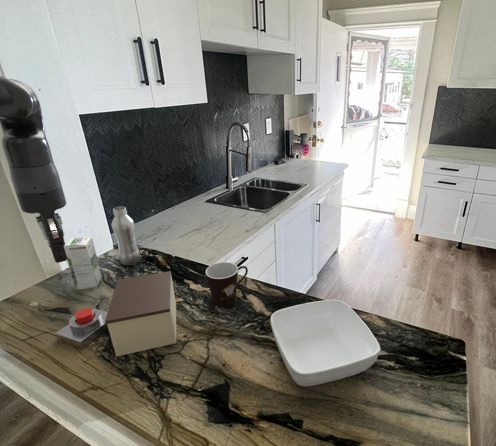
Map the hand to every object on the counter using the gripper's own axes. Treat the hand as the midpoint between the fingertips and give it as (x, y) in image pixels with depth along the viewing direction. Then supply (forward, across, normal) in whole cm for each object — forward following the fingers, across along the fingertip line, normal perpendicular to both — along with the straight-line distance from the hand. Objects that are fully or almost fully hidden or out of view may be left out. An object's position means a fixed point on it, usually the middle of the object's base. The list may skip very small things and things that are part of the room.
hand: (61, 260), depth 71 cm
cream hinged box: (+19, +11, +12) cm, 25 cm away
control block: (+19, +2, +1) cm, 19 cm away
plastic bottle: (+19, -25, +20) cm, 37 cm away
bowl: (+19, +46, +38) cm, 63 cm away
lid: (+9, +11, +12) cm, 19 cm away
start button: (+16, +2, +1) cm, 16 cm away
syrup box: (+20, -21, +6) cm, 29 cm away
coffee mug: (+19, +15, +34) cm, 41 cm away
